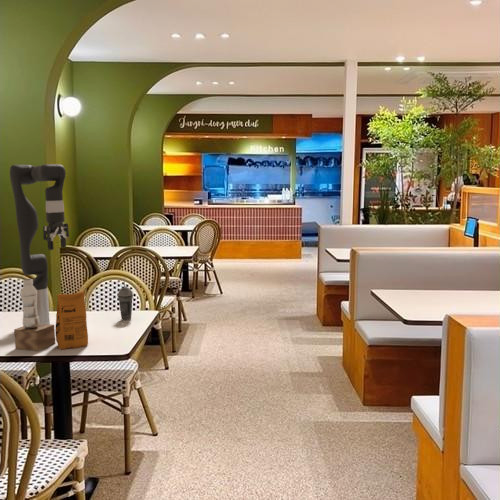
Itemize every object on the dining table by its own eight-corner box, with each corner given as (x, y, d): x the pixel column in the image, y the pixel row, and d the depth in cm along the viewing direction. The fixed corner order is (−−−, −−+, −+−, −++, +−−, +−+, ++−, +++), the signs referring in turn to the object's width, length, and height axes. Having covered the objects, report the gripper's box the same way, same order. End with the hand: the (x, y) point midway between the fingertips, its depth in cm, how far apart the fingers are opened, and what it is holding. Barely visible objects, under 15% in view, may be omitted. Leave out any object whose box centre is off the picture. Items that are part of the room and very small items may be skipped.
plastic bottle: (43, 326, 246) (40, 278, 244) (32, 330, 240) (28, 281, 237) (30, 325, 248) (27, 277, 246) (19, 329, 242) (15, 280, 239)
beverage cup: (121, 321, 286) (119, 280, 283) (117, 318, 292) (115, 277, 289) (135, 319, 289) (134, 278, 286) (131, 316, 295) (129, 276, 293)
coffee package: (55, 344, 249) (52, 292, 246) (86, 340, 253) (83, 289, 251) (57, 350, 240) (54, 296, 237) (89, 346, 244) (86, 293, 242)
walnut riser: (15, 348, 243) (14, 329, 242) (33, 341, 254) (32, 323, 253) (37, 350, 240) (36, 331, 239) (55, 343, 250) (54, 324, 249)
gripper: (58, 210, 266) (60, 246, 268) (36, 212, 253) (39, 250, 255) (72, 210, 263) (74, 246, 265) (51, 212, 250) (53, 250, 252)
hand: (57, 248), depth 260 cm, fingers open, 8 cm apart
